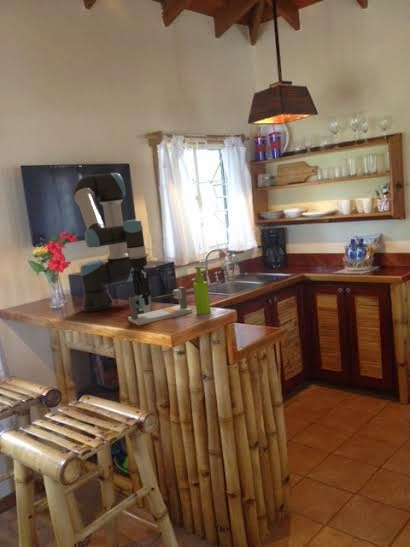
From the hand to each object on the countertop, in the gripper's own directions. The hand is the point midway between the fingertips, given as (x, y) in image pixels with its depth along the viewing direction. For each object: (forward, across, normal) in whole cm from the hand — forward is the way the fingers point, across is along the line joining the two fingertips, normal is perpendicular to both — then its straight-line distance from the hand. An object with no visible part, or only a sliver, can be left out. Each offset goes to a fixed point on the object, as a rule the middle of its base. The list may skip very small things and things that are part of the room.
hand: (144, 311), depth 212 cm
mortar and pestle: (+4, -16, +5) cm, 17 cm away
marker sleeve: (-2, 0, 0) cm, 2 cm away
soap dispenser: (+4, +12, +22) cm, 26 cm away
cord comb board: (+4, 0, +7) cm, 8 cm away
